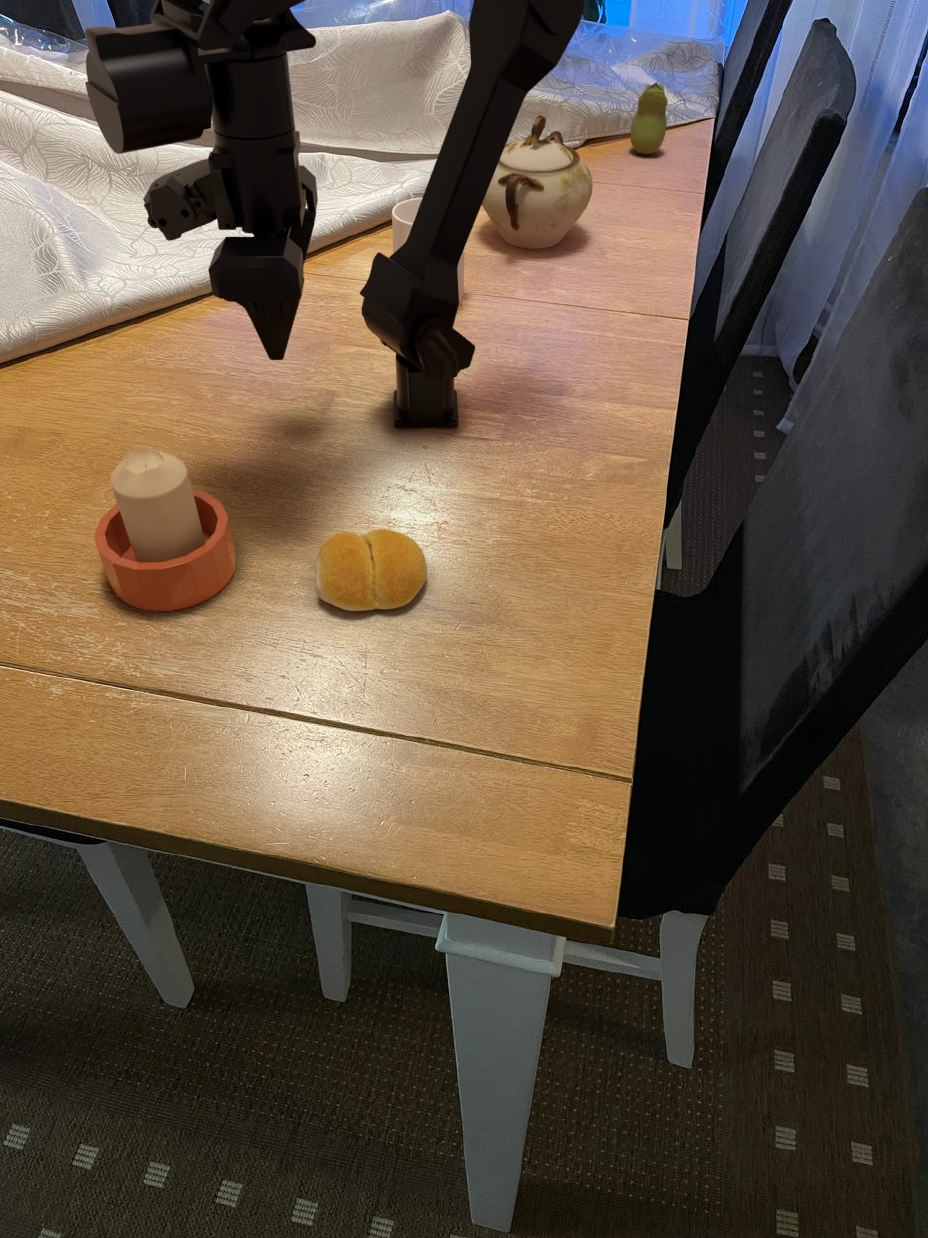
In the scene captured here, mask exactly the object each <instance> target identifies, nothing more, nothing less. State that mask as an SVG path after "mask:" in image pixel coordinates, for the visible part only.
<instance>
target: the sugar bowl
mask: <svg viewBox="0 0 928 1238" xmlns="http://www.w3.org/2000/svg"><path fill="white" fill-rule="evenodd" d="M546 122H547V118H546V116H545V115H543V114H542V115H541V114H539V115H538V116H536V117H535V120H534V122H533V124H532V127H531V131H530V132H531V133H530V134H529V135H528V136H526V137H525V138H523V139H520V140H517V141H516V140H515V141H513V142H510V143H506V145H505V148H504V150H503V153H502V155H501V158H500V160H499V163H498V165H497V168H496V170H495V173H494V175H493V178H492V180H491V183H490V185H489V188H488V190H487V193H486V195H485V198H484V200H483V203H482V205H481V207H482V208H483V209H484V211H485V213H486V214H487V216H488V217H489V219H490V221H491V222H492V223H493V226H495V228H496V230H498V232H499V233H500V235H501V237H502V239H503V240H504V241H505V242H507V243H509V244H510V245H512V246H515V247H518V248H523V249H532V250H533V249H534V250H541V249H547V248H551V247H553V246H556V245H558V244H559V243H560V242H561V241H562V240H563V239H564V237H565V236H566V235H567V233H568V232H569V231H570V230H571V229H572V227H573V226H574V225H575V224H576V223H577V222H578V221H579V219H580V218H581V216H582V215H583V213H584V212H585V210H586V209H587V207H588V205H589V203H590V201H591V199H592V195H593V188H594V187H593V186H594V185H593V178H592V177H593V176H592V173H591V171H590V169H589V167H588V164H586V162H585V161H584V160H583V159H582V158H581V157H580V154H579V153H578V152H577V150H575V149H574V148H572V147H571V146H568V145H565V144H564V137H563V134H562V132H561V131H559V130H554V131H552V132H551V133H550V134H549V135H548V136H546V137H545V138H541V136H542V134H543V131H544V129H545V128H546V124H547V123H546Z"/></svg>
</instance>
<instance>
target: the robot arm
mask: <svg viewBox="0 0 928 1238" xmlns="http://www.w3.org/2000/svg"><path fill="white" fill-rule="evenodd" d="M306 1H307V0H154V4H153V6H152V8H151V11H150V14H149V19H150V22H151V23H148V24H141V25H132V26H126V27H113V26H106V25H105V26H96V27H86V29H85V31H84V35H85V40H86V45H87V49H88V52H87V54H86V59H85V70H86V71H85V72H86V78H87V81H85V83H84V84H85V89H86V94H87V98H88V100H89V104H90V107H91V110H92V113H93V116H94V119H95V121H96V123H97V125H98V128H99V130H100V132H101V134H102V136H103V138H104V140H105V142H106V143H107V145H108V146H109V148H110V149H111V150H112V151H113V152H114V153H115V154H118V155H122V154H126V153H132V152H137V151H143V150H147V149H154V148H158V147H163V146H169V145H174V144H179V143H184V142H190V141H194V140H199V139H200V138H202V136H203V135H204V131H205V130H210V129H211V128H213V135H214V145H213V148H212V150H211V151H210V152H209V154H208V157H207V158H205V159H201V160H198V161H195V162H192V163H190V164H188V165H185V166H182V167H179V168H178V169H176V170H175V169H174V170H173V171H171V172H168V173H165V174H164V175H161V176H160V177H158V178H155V179H154V181H152V183H151V184H150V185H149V188H148V189H147V191H146V193H145V195H144V197H143V199H142V201H143V202H144V204H143V207H144V209H145V211H146V213H147V221H146V222H147V224H148V226H150V227H151V228H152V229H158V230H159V231H160V232H161V233H162V235H163V236H164V238H165V240H166V241H168V242H170V241H175V240H178V239H180V238H182V236H183V234H185V233H188V232H190V231H193V230H195V229H198V228H201V227H203V226H206V225H209V224H211V223H213V222H214V221H217V227H218V231H236V230H237V228H241V231H242V232H243V233H244V234H251V235H252V236H225V237H224V238H223V239H222V241H221V242H220V243H218V246H217V247H216V248H215V249H214V252H213V255H212V258H211V260H210V263H209V267H208V269H207V271H208V277H209V282H210V287H211V293H212V296H214V297H216V298H218V299H221V300H224V301H226V302H230V303H236V304H238V305H239V306H241V307H242V308H243V309H244V310H245V312H246V314H247V316H248V317H249V319H250V321H251V323H252V326H253V328H254V329H255V332H256V333H257V336H258V338H259V340H260V342H261V345H262V347H263V349H264V351H265V353H266V355H267V357H268V359H269V360H271V361H282V360H284V358H285V355H286V351H287V347H288V344H289V340H290V337H291V334H292V329H293V327H294V322H295V320H296V316H297V313H298V310H299V309H298V308H299V306H300V302H301V299H302V295H303V291H304V284H305V274H304V273H305V271H304V269H305V268H304V266H305V262H306V259H307V254H308V252H309V251H308V250H309V247H310V244H311V240H312V235H313V231H314V228H315V224H316V223H315V222H316V217H317V207H318V203H319V202H318V201H319V196H318V185H317V177H316V176H315V175H314V174H313V173H312V172H311V171H310V170H309V169H308V168H307V167H305V166H306V165H300V161H299V156H300V151H301V146H302V144H301V134H300V131H299V130H296V123H295V114H294V113H295V112H294V105H293V104H294V103H293V95H292V86H291V85H292V84H291V77H290V66H289V58H288V53H289V52H294V51H296V52H297V51H301V50H302V51H303V50H309V49H313V48H315V46H316V45H317V38H316V36H315V35H314V34H313V33H311V32H310V31H309V30H308V29H306V27H305V26H304V25H302V24H301V23H300V21H298V19H297V18H296V16H295V15H294V13H293V11H292V10H291V8H293V7H295V6H298V5H299V4H301V3H304V2H306ZM204 3H207V4H208V5H207V7H206V10H205V11H204V10H203V9H200V7H201V6H202V4H204ZM585 4H586V0H473V3H472V8H471V10H470V11H471V12H470V15H469V19H468V34H469V35H468V36H469V54H470V56H469V57H470V66H469V71H468V74H467V77H466V79H465V82H464V85H463V88H462V90H461V92H460V96H459V98H458V101H457V104H456V106H455V109H454V112H453V115H452V117H451V120H450V123H449V125H448V127H447V131H446V133H445V136H444V138H443V141H442V144H441V147H440V149H439V152H438V154H437V158H436V160H435V163H434V166H433V168H432V171H431V174H430V177H429V179H428V182H427V185H426V187H425V190H424V193H423V195H422V197H421V198H422V201H421V203H420V206H419V209H418V211H417V214H416V217H415V220H414V222H413V225H412V228H411V230H410V233H409V236H408V238H407V240H406V242H405V243H404V244H403V245H402V246H401V247H400V248H399V249H398V250H397V251H396V252H394V253H393V252H392V254H391V255H390V256H389V257H388V256H387V255H385V254H384V253H382V252H380V251H379V252H377V253H376V254H375V256H374V257H373V259H372V262H371V266H370V267H371V268H370V270H369V271H370V272H369V275H368V278H367V280H366V282H365V285H364V286H363V287H362V289H361V290H360V291H359V295H360V296H361V297H363V301H362V306H361V316H362V317H363V320H364V323H365V324H366V328H368V330H369V332H371V333H372V334H374V336H376V337H377V338H378V339H379V341H380V343H381V344H382V345H383V346H384V347H387V348H389V349H390V350H391V351H392V352H394V353H395V376H396V377H395V378H396V380H395V381H396V389H394V391H393V409H392V410H393V411H392V413H393V415H392V423H393V424H392V425H393V427H394V428H395V429H456V428H458V427H459V426H460V417H459V415H460V414H459V404H458V403H459V402H458V391H457V390H456V389H455V378H457V377H458V375H459V373H460V372H461V371H463V370H465V369H468V368H470V366H471V365H472V361H473V358H474V354H475V351H476V345H475V344H474V343H473V342H471V341H470V340H469V339H467V338H466V337H465V336H464V335H462V333H460V332H459V331H458V330H456V329H455V328H454V325H455V321H456V317H457V314H458V310H459V306H460V303H459V289H458V271H457V268H458V263H459V260H460V258H461V255H462V253H463V250H464V251H465V248H466V244H467V243H468V240H469V238H470V235H471V232H472V230H473V228H474V225H475V223H476V220H477V217H478V215H479V212H480V210H481V207H482V203H483V200H484V198H485V195H486V193H487V190H488V188H489V185H490V183H491V180H492V178H493V175H494V173H495V170H496V168H497V165H498V163H499V160H500V158H501V155H502V153H503V150H504V148H505V145H506V144H508V143H507V142H508V139H509V137H510V136H511V133H512V131H513V128H514V125H515V123H516V121H517V118H518V115H519V113H520V110H521V108H522V105H523V103H524V101H525V98H526V97H527V95H528V94H529V92H531V91H532V90H533V89H534V88H535V87H536V86H537V85H538V84H539V83H540V82H541V81H542V80H543V79H544V78H545V77H546V76H547V75H548V74H550V73H551V72H552V71H553V70H554V69H555V68H556V67H557V66H558V64H559V63H560V61H561V59H562V57H563V55H564V53H565V51H566V50H567V48H568V47H569V44H570V42H571V40H572V39H573V37H574V35H575V33H576V31H577V29H578V28H579V25H580V23H581V20H582V18H583V14H584V11H585V10H584V9H585Z"/></svg>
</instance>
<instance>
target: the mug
mask: <svg viewBox="0 0 928 1238" xmlns="http://www.w3.org/2000/svg"><path fill="white" fill-rule="evenodd" d="M422 198H423V197H414V198H409V199H405V200H403V201H400V202H399V203H397V204H395V205H394V207H393V208H392V210H391V221H392V222H391V226H392V227H391V229H392V230H391V231H392V254H393V253H394V252H396V251H397V250H398V249H399V248H400V247H401V246H402V245H403V244H404V243H405V242H406V240H407V238H408V236H409V233H410V230H411V228H412V225H413V222H414V220H415V217H416V214H417V211H418V209H419V206H420V203H421V201H422ZM457 271H458V289H459V304H460V303H461V302H462V299H463V297H464V289H465V288H464V287H465V249H464V250H463V253H462V255H461V258H460V260H459V263H458V268H457Z"/></svg>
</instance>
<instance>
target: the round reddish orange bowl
mask: <svg viewBox="0 0 928 1238" xmlns="http://www.w3.org/2000/svg"><path fill="white" fill-rule="evenodd" d="M192 492H193V496H194V500H195V504H196V508H197V512H198V516H199V520H200V524H201V528H202V532H203V536H204V540H205V544H204V545H203V546H202V547H200V548H198V549H196V550H195V551H193V552H191V553H189V554H188V555H186V556H183V557H180V558H176V559H172V560H168V561H165V562H142V563H139V562H137V561H136V558H135V555H134V552H133V549H132V546H131V543H130V540H129V537H128V534H127V531H126V528H125V525H124V522H123V519H122V516H121V513H120V510H119V507H118V504H117V503H116V504H114V505H113V506H112V507H111V508H110V509H109V510H108V511H107V512H106V513H105V514H104V515H102V516H101V518H100V519H99V521H98V524H97V527H96V529H95V532H94V535H93V537H94V541H95V545H96V549H97V552H98V555H99V557H100V561H101V563H102V566H103V567H104V571H105V573H106V576H107V580H108V582H109V585H110V586H111V588H112V590H113V592H114V594H115V595H116V596H117V597H118V598H119V599H120V600H122V601H123V602H124V603H126V604H128V605H130V606H132V607H134V608H137V609H140V610H144V611H151V612H170V611H171V612H172V611H178V610H179V611H180V610H183V609H188V608H190V607H193V606H197V605H198V604H201V603H203V602H205V601H207V600H209V599H211V598H212V597H214V596H215V595H217V594H218V593H219V592H220V591H222V590H223V589H224V588H225V586H226V585H227V584H229V582H230V580H231V579H232V578H233V575H234V572H235V570H236V567H237V556H236V548H235V542H234V538H233V534H232V529H231V524H230V521H229V516H228V514H227V511H226V509H225V507H224V505H223V503H222V502H221V501H219V499H216V498H215V497H214V496H212V495H211V494H210V493H208V492H206V491H202V490H198V489H194V488H192Z"/></svg>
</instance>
